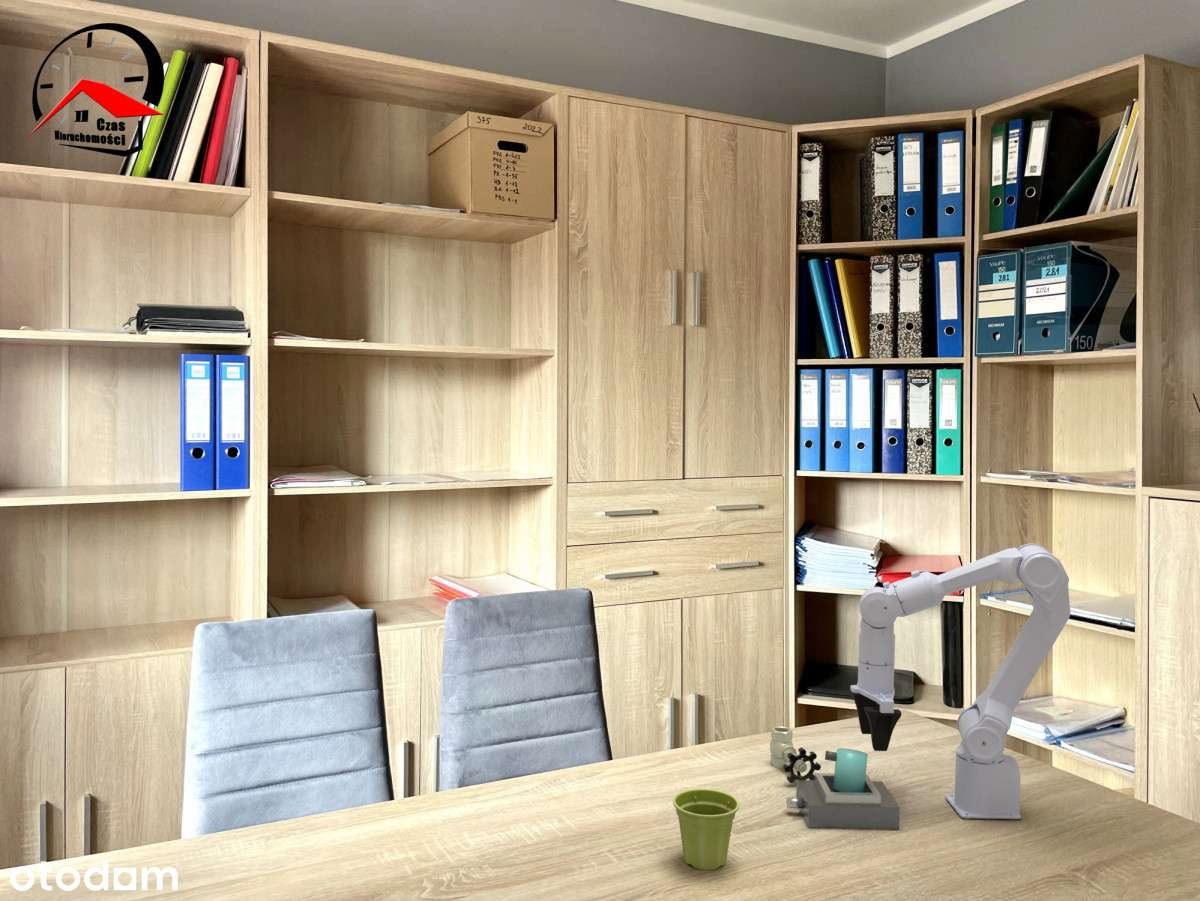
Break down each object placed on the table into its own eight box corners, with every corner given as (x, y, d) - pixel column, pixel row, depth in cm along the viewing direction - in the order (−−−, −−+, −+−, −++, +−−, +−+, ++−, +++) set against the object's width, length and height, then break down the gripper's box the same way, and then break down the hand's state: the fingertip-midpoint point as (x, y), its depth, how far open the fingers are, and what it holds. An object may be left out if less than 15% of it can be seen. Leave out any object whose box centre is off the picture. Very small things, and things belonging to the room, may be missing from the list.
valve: (759, 761, 178) (784, 788, 166) (760, 726, 178) (785, 750, 166) (793, 759, 179) (820, 786, 168) (794, 724, 179) (821, 748, 167)
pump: (863, 789, 158) (867, 752, 158) (864, 796, 153) (868, 757, 154) (822, 782, 159) (826, 744, 160) (821, 788, 155) (826, 750, 155)
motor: (881, 802, 161) (882, 772, 161) (899, 829, 151) (900, 797, 151) (781, 800, 161) (782, 770, 161) (792, 827, 151) (793, 796, 151)
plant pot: (670, 844, 145) (671, 787, 145) (734, 846, 145) (735, 788, 144) (673, 875, 136) (674, 814, 135) (741, 877, 136) (742, 816, 135)
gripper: (841, 649, 169) (839, 726, 170) (863, 673, 154) (860, 757, 155) (882, 649, 169) (880, 726, 170) (908, 674, 154) (905, 758, 155)
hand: (873, 741), depth 162 cm, fingers open, 7 cm apart
